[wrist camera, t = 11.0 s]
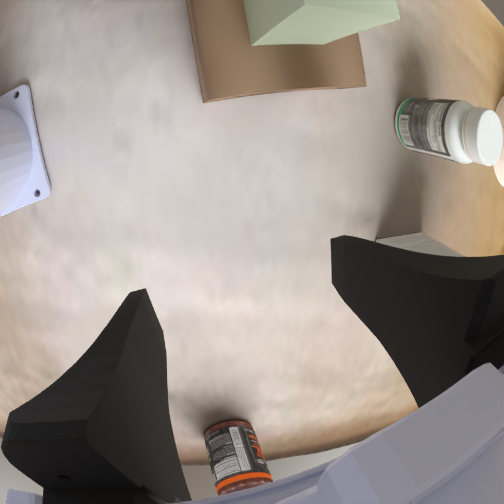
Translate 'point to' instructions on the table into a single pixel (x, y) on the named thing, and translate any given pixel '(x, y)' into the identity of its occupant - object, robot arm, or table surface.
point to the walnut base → (264, 57)
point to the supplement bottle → (235, 457)
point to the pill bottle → (450, 130)
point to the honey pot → (503, 163)
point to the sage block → (314, 19)
